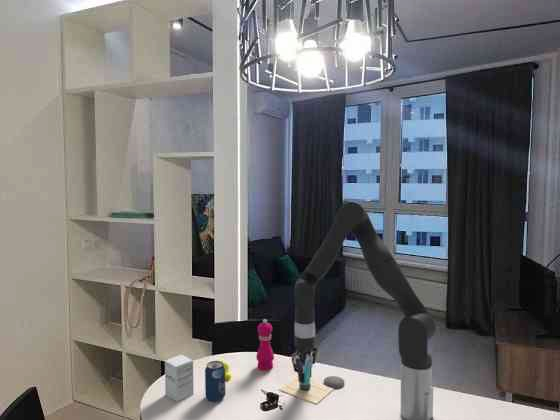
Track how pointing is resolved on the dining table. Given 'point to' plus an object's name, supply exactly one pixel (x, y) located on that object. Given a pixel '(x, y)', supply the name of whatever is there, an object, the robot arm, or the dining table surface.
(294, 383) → the wooden board
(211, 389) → the soda can
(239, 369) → the dining table surface
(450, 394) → the dining table surface
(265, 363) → the pepper mill
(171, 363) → the supplement box
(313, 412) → the dining table surface
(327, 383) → the coaster
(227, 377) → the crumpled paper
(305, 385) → the teal cylinder
